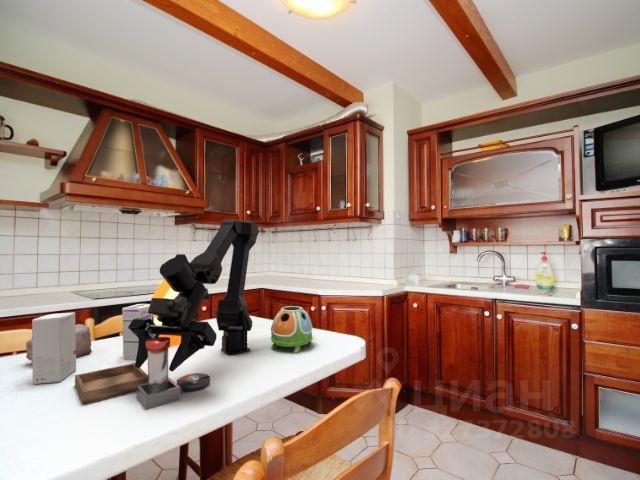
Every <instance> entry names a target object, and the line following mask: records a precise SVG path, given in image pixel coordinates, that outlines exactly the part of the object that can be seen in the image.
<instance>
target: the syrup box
mask: <svg viewBox="0 0 640 480" xmlns="http://www.w3.org/2000/svg"><path fill="white" fill-rule="evenodd" d="M149 306H150V303H137V304H134V305H130V306H126V307H122V310H121V311H122V312H121V314H122V356H123V358H122V359H123V360H127V361H136V357H137V351H138V343H139V339H138V337H137V336H136V335H135V334H134V333H133V332H132V331H131V330H130V329H129V328H128V326H129V325H130V323H131V322H132V320H133V319H135V318H148V319H151V320H152V321H153V322H154V314H148V313H147V312H148V309H149Z"/></svg>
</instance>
